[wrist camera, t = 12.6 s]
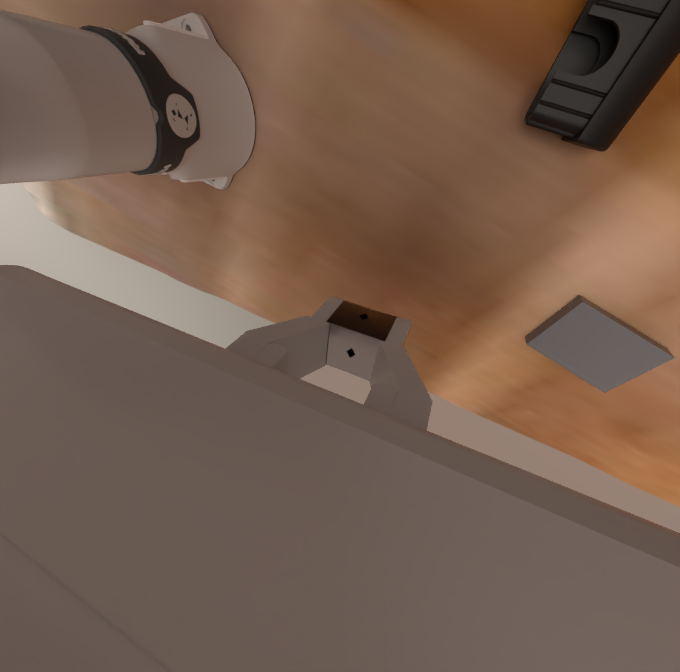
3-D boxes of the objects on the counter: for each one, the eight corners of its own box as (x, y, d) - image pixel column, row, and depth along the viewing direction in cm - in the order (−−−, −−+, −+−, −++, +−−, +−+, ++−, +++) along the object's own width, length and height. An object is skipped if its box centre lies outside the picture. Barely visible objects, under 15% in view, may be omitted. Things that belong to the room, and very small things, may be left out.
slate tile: (526, 344, 38) (604, 392, 38) (583, 301, 33) (674, 357, 32) (525, 335, 40) (599, 381, 39) (578, 293, 34) (665, 346, 34)
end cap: (591, 149, 27) (615, 154, 22) (519, 126, 28) (526, 126, 23) (703, -7, 21) (773, -51, 16) (604, -30, 22) (639, -78, 17)
